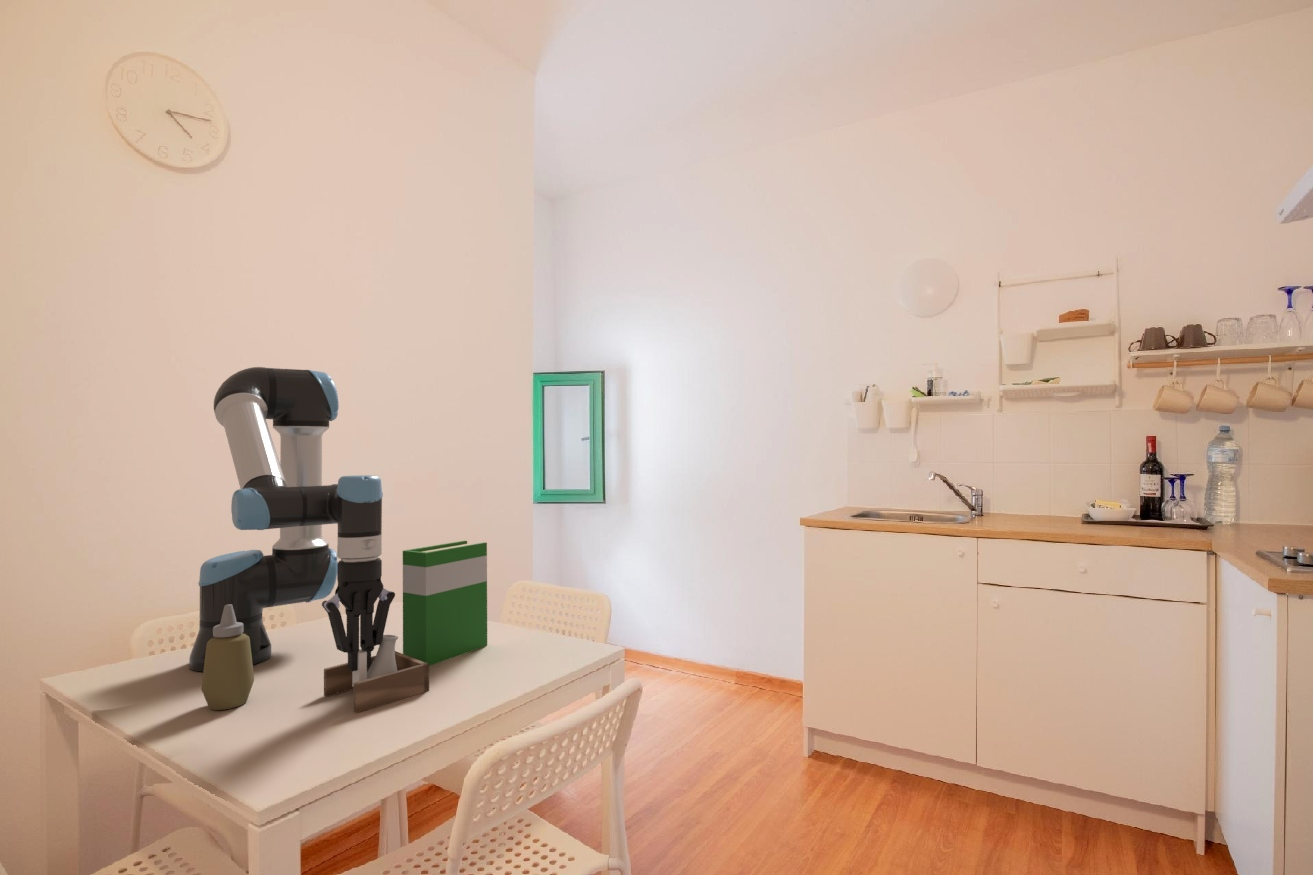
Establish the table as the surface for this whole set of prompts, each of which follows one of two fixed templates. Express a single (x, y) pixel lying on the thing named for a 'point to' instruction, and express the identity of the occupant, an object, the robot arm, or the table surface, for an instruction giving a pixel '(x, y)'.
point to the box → (379, 683)
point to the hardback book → (444, 600)
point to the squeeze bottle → (227, 664)
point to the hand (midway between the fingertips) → (359, 686)
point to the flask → (384, 658)
